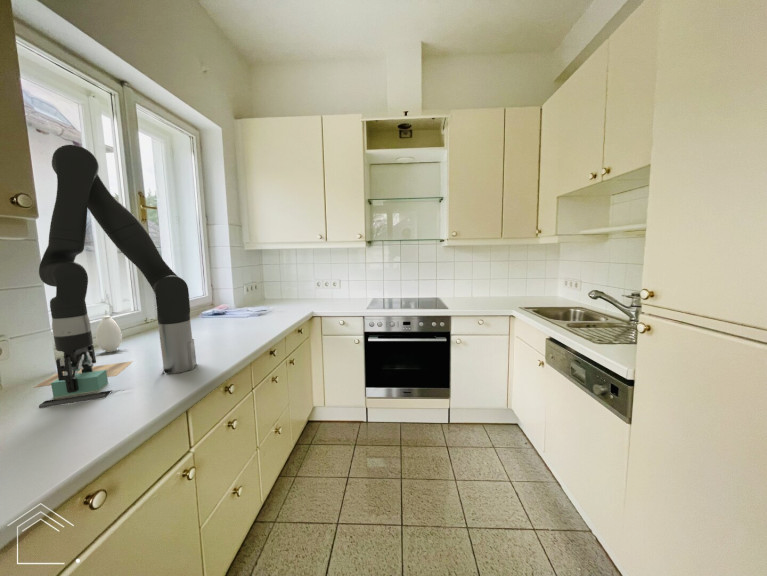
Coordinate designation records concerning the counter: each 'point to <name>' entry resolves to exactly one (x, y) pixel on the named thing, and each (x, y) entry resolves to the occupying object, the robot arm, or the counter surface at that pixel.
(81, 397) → the rubber mat
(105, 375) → the block
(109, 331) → the white vase
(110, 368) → the board
